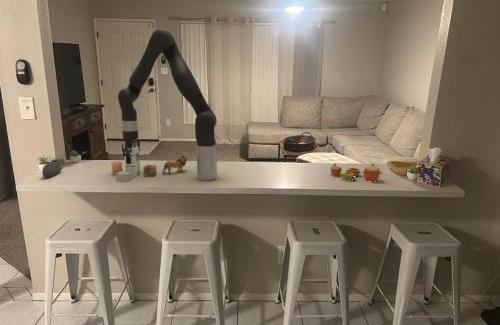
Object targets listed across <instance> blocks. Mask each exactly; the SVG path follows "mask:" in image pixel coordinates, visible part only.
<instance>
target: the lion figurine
mask: <svg viewBox="0 0 500 325" xmlns="http://www.w3.org/2000/svg"><path fill="white" fill-rule="evenodd" d="M187 161H188V157H187V155H186V154H181V155H179V158H177V159H176V160H173V161H171V160H168V161H166V162H165V163H164V164H163V167H162V168H163V169H162V173H161V175H164V174H166V173H167V172H168V173H169V175H173V172H171V170H172V168H173V169H177V172H178V173H180V174H181V173H182V174H183V173H184V171H183V167H185V166H186V164H187ZM166 170H168V171H167V172H166Z"/></svg>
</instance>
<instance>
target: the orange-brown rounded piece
mask: <svg viewBox="0 0 500 325" xmlns="http://www.w3.org/2000/svg"><path fill="white" fill-rule="evenodd" d="M120 171H123V172H124V170H123V162H122V161H118V160H117V161H112V162H111V172H112V174H111V175H113V176H116V173H118V172H120Z"/></svg>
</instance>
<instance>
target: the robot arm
mask: <svg viewBox="0 0 500 325" xmlns="http://www.w3.org/2000/svg"><path fill="white" fill-rule="evenodd" d="M161 54H163V56H164V58H165V60H166V61H167V64H168V66H169V68H170V69H169V70H170V73H171V76H172V80H173V82H174V84H175V86H176V87H177V89H178V91H179V93H180V94H181V95H182V96H183V98H184V99H185V100H186V101H187V103H189V104H190V106H191V107H192V109H193V112H195V116H196V117H195V121H194V132H195V140H196V141H195V142H196V171H197V172H196V176H197V177H196V178H197V180H199V181H205V182H206V181H215V180H216V179H217V177H218V159H217V158H216V157H217V156H216V155H217V154H216V147H217V146H216V145H217V142H216V138H215V127H216V126H217V119H218V118H217V116H216V115H215V113H214V111H213V110H212V109H211V107H210V106H209V104H208V103H207V101H206V99H205V97H204V95H203V93H202V90H201V88H200V87H199V85H198V82H197V80H196V79H195V76H194V75H193V73H192V72H191V70H190V68H189V66H188V64H187V63H186V61H185V59H184V58H183V56H182V54H181V52H180V49H179V47H178V45H177V43H176V40H175V37H174V36H173V34H172V33H171V32H170V31H168V30H165V29H162V28H159V29H156V30H154V31H153V32H152V33H151V35H150V37H149V40H148V43H147V46H146V47H145V51H144V53H143V55H142V57H141V59H140V60H139V62H138V63H137V66H136V67H135V68H134V70H133V72H132V74H131V76H130V77H129V80H128V81H129V84H128V86H127V87H126V88H122V89H120V91H119V92H118V96H117V99H118V105H119V109H120V111H121V132H122V139H123V140H124V141H125V142H124V144H123V143H122V144H121V151H122V156H123V157H124V156H126V163H127V164H131V157H130V156H131V152H132V148H133V147H136V146H138V148H139V152H140V151H141V139H139V136H140V135H139V123H138V116H137V114H138V113H137V110H136V108H135V106H134V102H136V101H137V100H138V98H139V97H140V95H141V92H142V91H143V90H142V89H143V87H144V86H145V84H146V83H147V81H148V79H149V77H150V75H151V73H152V70H153V67H154V65H155V62H156V61H157V59H158V58H159V56H160V55H161ZM128 148H129V149H130V148H131V149H130V150H128ZM128 152H129V153H128Z"/></svg>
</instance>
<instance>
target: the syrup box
mask: <svg viewBox="0 0 500 325" xmlns="http://www.w3.org/2000/svg"><path fill="white" fill-rule="evenodd" d="M130 149H131V148H130ZM130 149H129V148H128V150H130ZM128 153H129V152H128ZM123 157H124V167H125V168H124V172H132V177H138V175H139V174H141V164H140V151H139V148H138V146H136V147H133V148H132V152H131V156H130V157H131V164H127V163H126V156H123Z"/></svg>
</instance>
